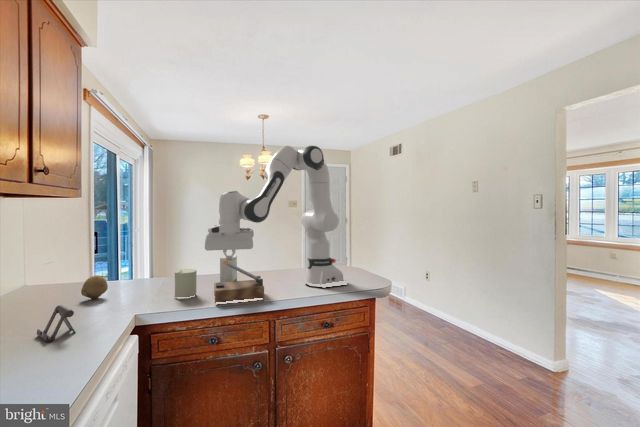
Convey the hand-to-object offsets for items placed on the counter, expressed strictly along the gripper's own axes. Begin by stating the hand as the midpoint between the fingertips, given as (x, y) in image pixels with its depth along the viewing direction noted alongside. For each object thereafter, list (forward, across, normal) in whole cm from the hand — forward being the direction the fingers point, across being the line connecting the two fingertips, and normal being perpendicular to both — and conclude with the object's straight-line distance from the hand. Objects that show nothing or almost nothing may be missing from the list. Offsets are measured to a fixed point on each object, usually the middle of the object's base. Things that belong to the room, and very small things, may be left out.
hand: (229, 260), depth 135 cm
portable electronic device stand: (+18, +53, +22) cm, 60 cm away
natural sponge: (+18, +54, -18) cm, 59 cm away
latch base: (+17, -4, 0) cm, 18 cm away
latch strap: (+6, -5, 0) cm, 8 cm away
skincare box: (+17, -1, -19) cm, 26 cm away
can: (+18, +18, -10) cm, 27 cm away
